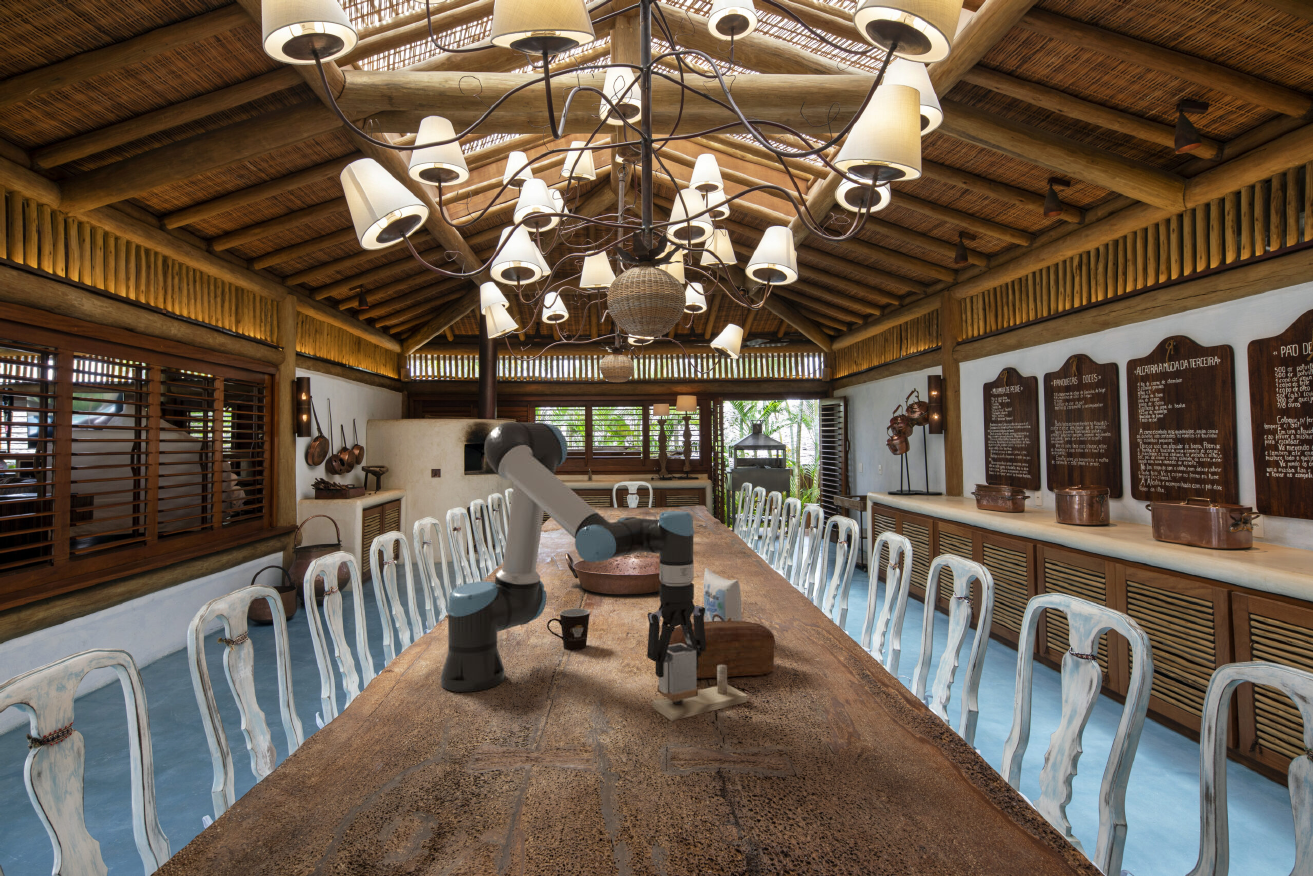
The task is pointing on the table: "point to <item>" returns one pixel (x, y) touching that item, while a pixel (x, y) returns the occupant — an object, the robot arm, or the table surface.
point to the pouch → (721, 598)
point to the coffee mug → (573, 628)
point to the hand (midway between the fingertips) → (677, 687)
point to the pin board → (702, 699)
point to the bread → (733, 648)
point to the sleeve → (681, 672)
